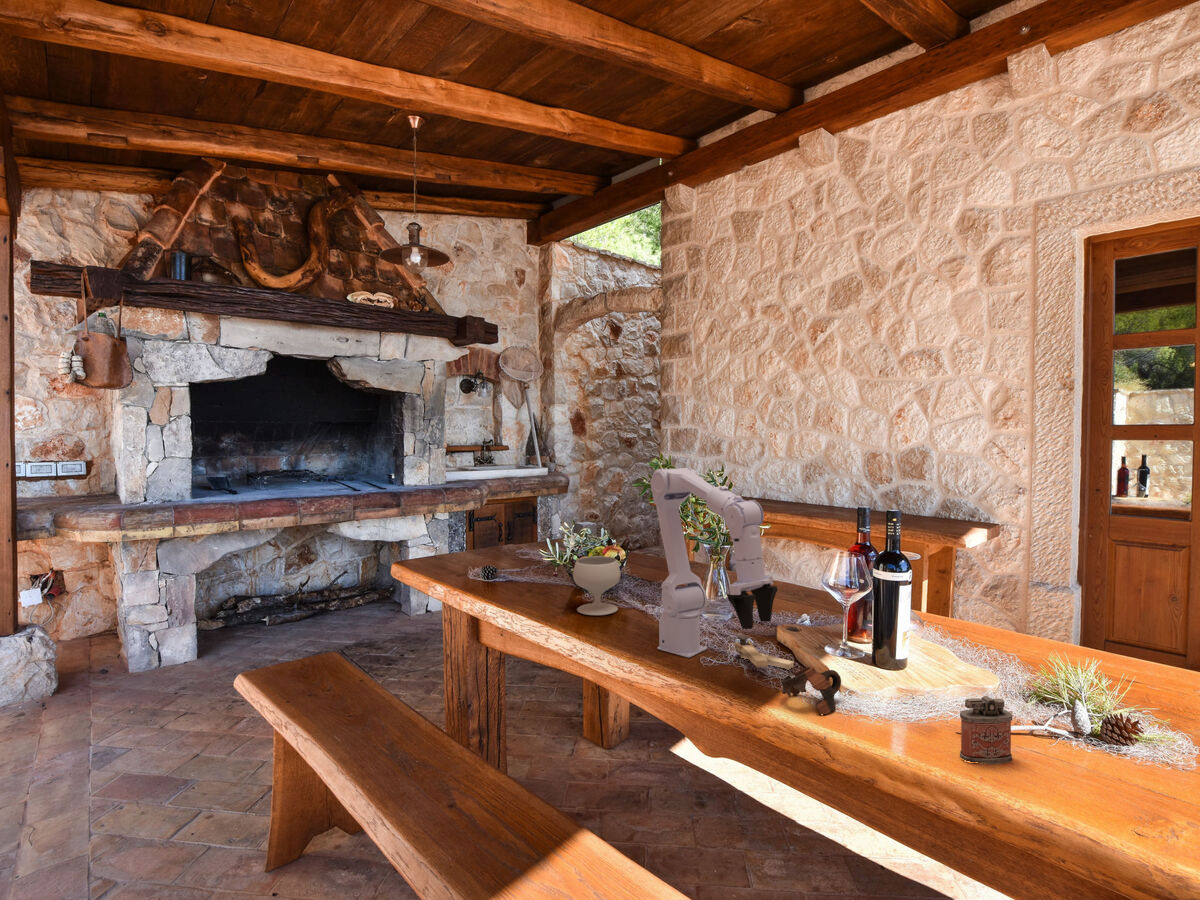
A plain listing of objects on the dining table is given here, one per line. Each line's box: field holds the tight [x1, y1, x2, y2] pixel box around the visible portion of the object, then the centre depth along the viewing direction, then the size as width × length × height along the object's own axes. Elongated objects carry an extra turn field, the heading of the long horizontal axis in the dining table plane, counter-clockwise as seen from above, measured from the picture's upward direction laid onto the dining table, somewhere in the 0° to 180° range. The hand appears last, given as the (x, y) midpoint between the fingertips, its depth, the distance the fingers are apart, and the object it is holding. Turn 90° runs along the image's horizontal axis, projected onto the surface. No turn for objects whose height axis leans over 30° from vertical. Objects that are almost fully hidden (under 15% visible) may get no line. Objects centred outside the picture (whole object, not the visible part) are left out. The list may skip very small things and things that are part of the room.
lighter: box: [959, 695, 1013, 765], centre depth 105 cm, size 8×3×10 cm, turn 92°
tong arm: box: [734, 640, 768, 669], centre depth 146 cm, size 12×4×1 cm, turn 7°
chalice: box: [572, 555, 621, 616], centre depth 191 cm, size 14×14×15 cm
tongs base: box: [735, 634, 795, 671], centre depth 148 cm, size 14×3×5 cm, turn 47°
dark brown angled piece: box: [780, 665, 842, 715], centre depth 127 cm, size 12×10×8 cm
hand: (756, 624), depth 135 cm, fingers open, 7 cm apart
